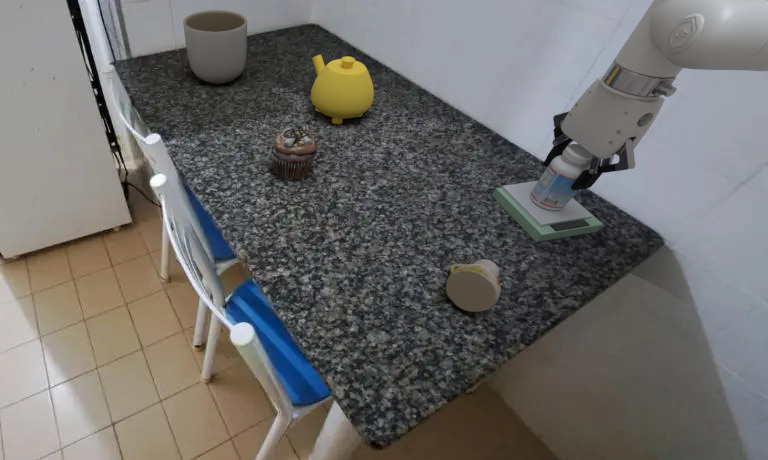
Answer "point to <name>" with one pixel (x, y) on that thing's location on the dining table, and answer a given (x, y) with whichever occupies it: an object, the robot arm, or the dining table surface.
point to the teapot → (341, 88)
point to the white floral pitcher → (474, 285)
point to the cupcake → (293, 152)
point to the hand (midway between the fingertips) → (564, 175)
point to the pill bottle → (561, 178)
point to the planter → (216, 44)
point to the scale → (544, 214)
